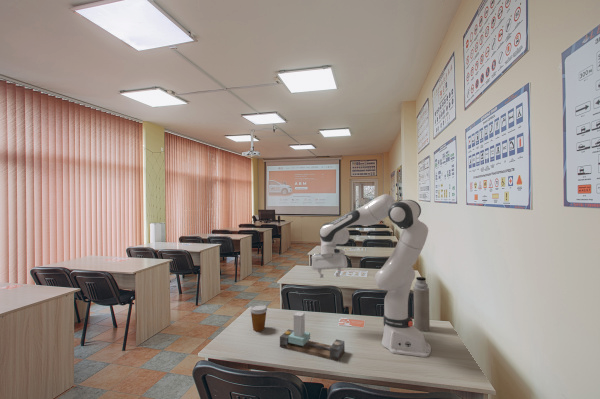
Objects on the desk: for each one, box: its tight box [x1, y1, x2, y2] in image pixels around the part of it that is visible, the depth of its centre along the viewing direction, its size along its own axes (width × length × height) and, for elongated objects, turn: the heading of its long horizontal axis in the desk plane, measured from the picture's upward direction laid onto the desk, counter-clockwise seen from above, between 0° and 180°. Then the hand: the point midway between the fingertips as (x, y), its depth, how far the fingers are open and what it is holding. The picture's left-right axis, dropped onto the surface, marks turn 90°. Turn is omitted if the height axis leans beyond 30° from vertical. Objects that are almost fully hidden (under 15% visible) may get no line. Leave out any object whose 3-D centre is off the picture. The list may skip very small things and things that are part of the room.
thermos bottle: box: [412, 276, 431, 332], centre depth 160 cm, size 8×8×28 cm
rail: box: [279, 328, 346, 362], centre depth 138 cm, size 30×9×6 cm, turn 64°
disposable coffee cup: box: [249, 304, 268, 332], centre depth 162 cm, size 10×10×12 cm
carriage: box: [288, 311, 311, 346], centre depth 141 cm, size 8×8×13 cm
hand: (329, 277), depth 159 cm, fingers open, 8 cm apart
